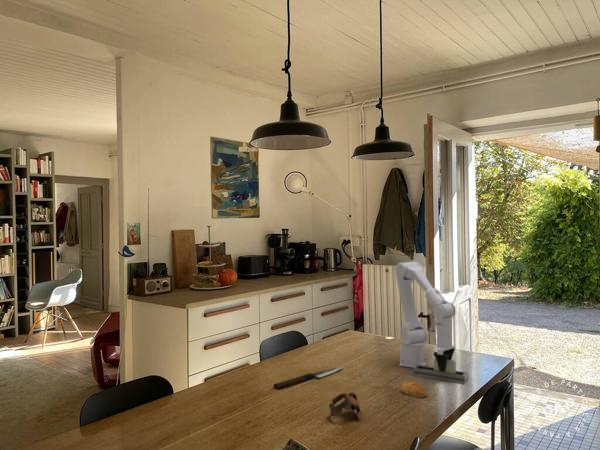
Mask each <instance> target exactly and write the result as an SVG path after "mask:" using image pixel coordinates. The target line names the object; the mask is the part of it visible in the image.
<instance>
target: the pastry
mask: <svg viewBox="0 0 600 450" xmlns="http://www.w3.org/2000/svg"><path fill="white" fill-rule="evenodd" d="M400 390H401V392H402V393H403V394H405V395H407V396H410V397H414V398H419V399H421V398H424V397H426V396H427V390H426V389H425V388H424V387H423V386H422V385H421V384H420V383H418V382H416V381H411V380H409V379H408V380H407V379H406V380H405V381H404V382H403V383H402V384H401V386H400Z"/></svg>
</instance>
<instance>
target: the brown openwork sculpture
mask: <svg viewBox="0 0 600 450" xmlns="http://www.w3.org/2000/svg"><path fill="white" fill-rule="evenodd" d="M343 399H344V400H343ZM341 400H343V401H341ZM339 401H341V403H339V404H337V403H338V402H339ZM336 404H337V405H336ZM328 407H329V413H330V414H331V415H332V416H336V415H341V416H343V410H348V411H355V410H356V417H357V418H358V421H359V422H361V421H362V420H363V414H362V411H361V407H360V404H359V402H358V396H357V395H356V393H355V392H349V393H347V392H342V393H340V394H338V395H336V396H335V397H334V398H333V399H332V400H331V402H330V403H329V404H328Z"/></svg>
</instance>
